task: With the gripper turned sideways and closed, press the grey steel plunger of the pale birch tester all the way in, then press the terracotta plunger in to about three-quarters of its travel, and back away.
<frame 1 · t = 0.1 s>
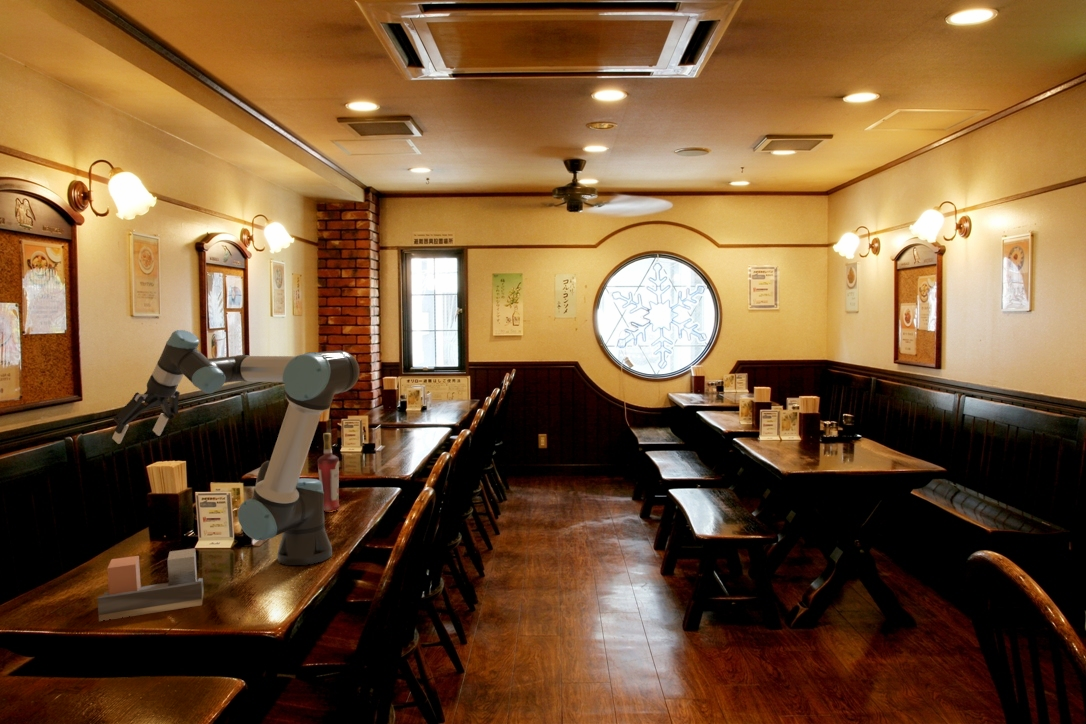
hand: (136, 436, 217), 36 cm above the table, tool tilted 35°, fingers open, 13 cm apart
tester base: (153, 605, 182), on the table
liquor: (330, 511, 265), on the table
terracotta plunger: (124, 579, 183), point 6 cm above the table, slide at 0.0 cm
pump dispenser: (270, 500, 281), on the table
grey plunger: (182, 571, 188), point 6 cm above the table, slide at 0.0 cm
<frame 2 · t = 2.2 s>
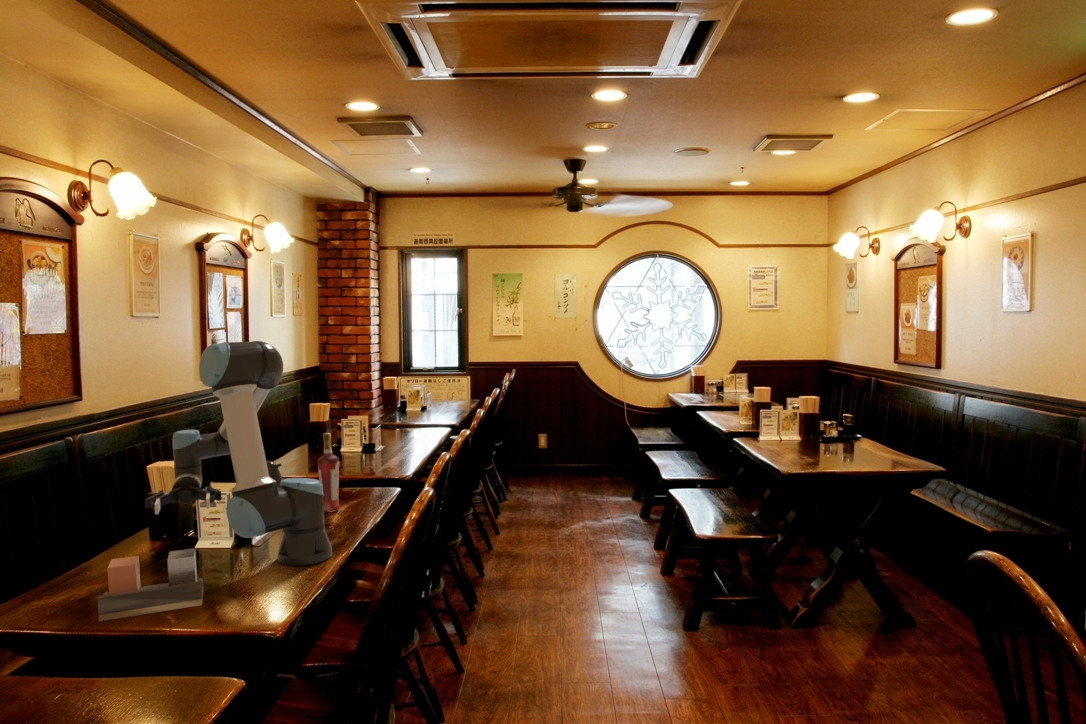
hand: (182, 506, 198), 20 cm above the table, tool horizontal, fingers open, 12 cm apart
nothing on the table moved.
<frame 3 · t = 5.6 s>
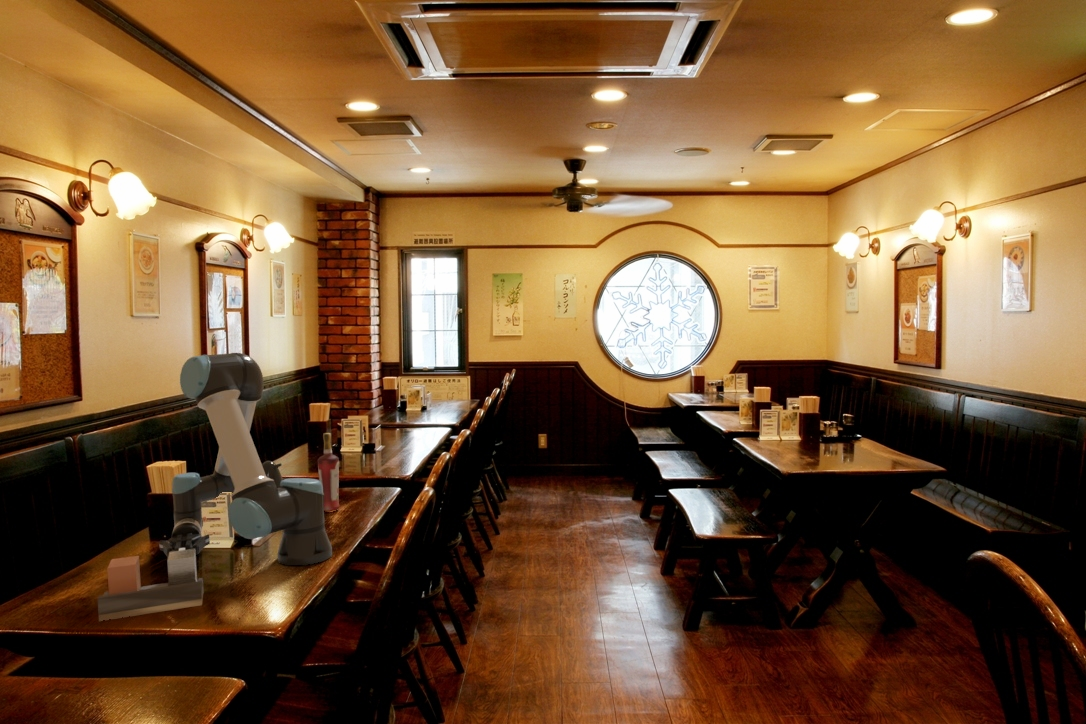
hand: (180, 560, 191), 8 cm above the table, tool horizontal, fingers closed
grey plunger: (182, 571, 188), point 6 cm above the table, slide at 0.3 cm, touching gripper
everything else where it was.
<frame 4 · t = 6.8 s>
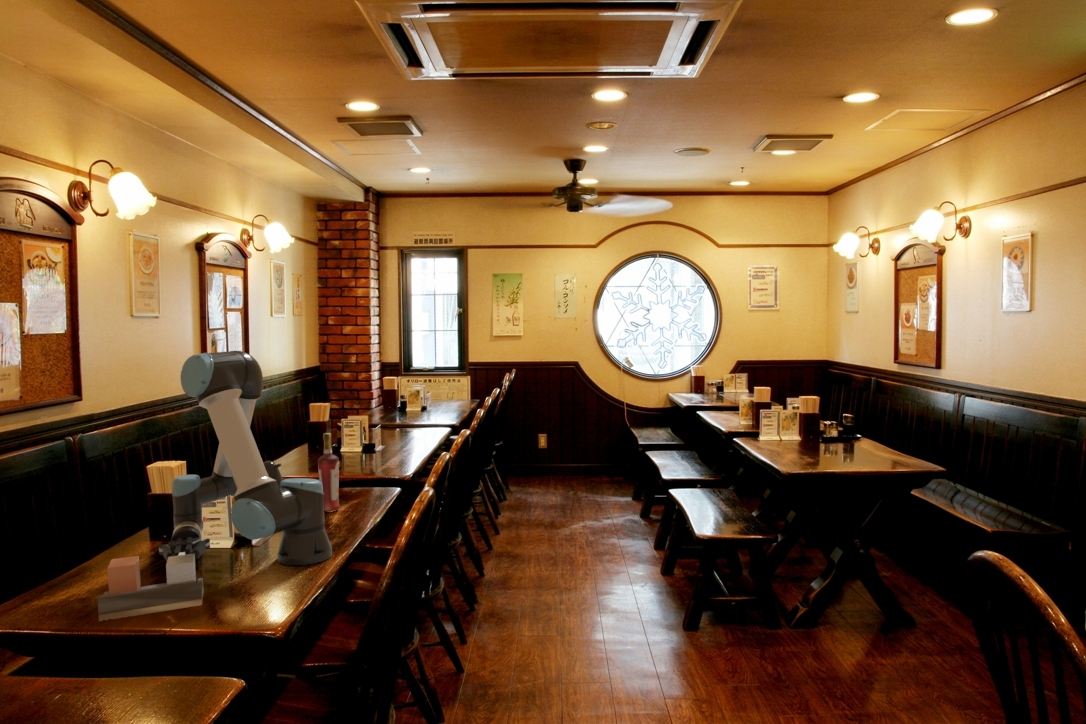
hand: (180, 565, 187), 8 cm above the table, tool horizontal, fingers closed
grey plunger: (181, 577, 184), point 6 cm above the table, slide at 4.5 cm, touching gripper, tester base
everything else where it was.
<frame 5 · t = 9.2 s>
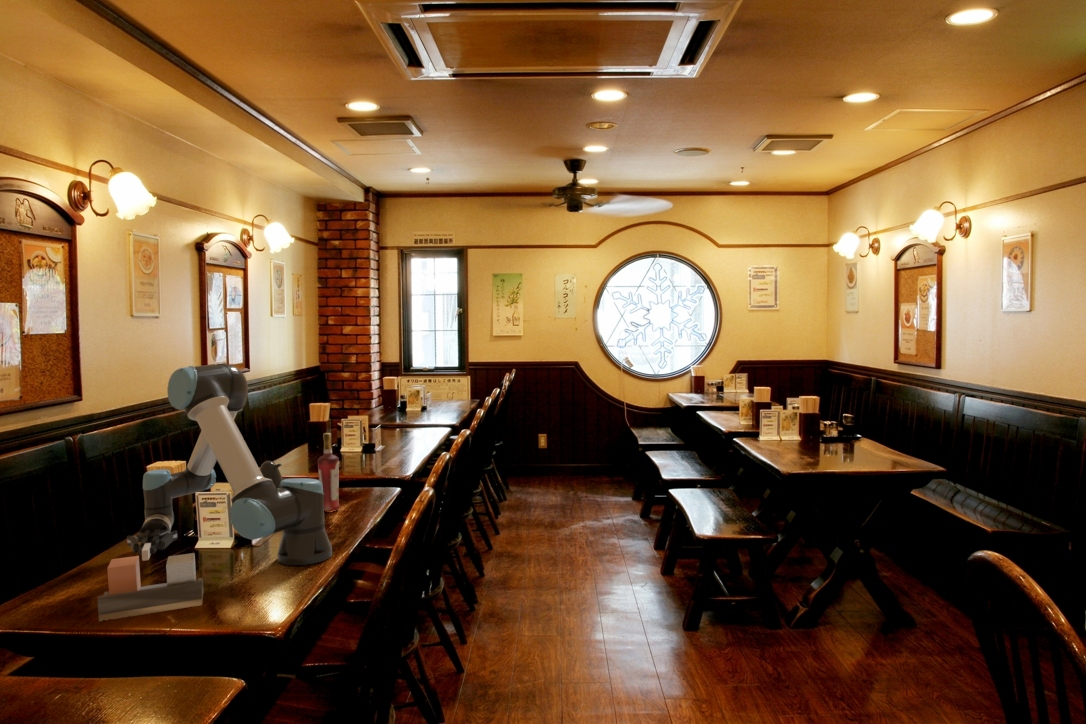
hand: (145, 555, 195), 8 cm above the table, tool horizontal, fingers closed
grey plunger: (181, 576, 184), point 6 cm above the table, slide at 4.1 cm
everything else where it was.
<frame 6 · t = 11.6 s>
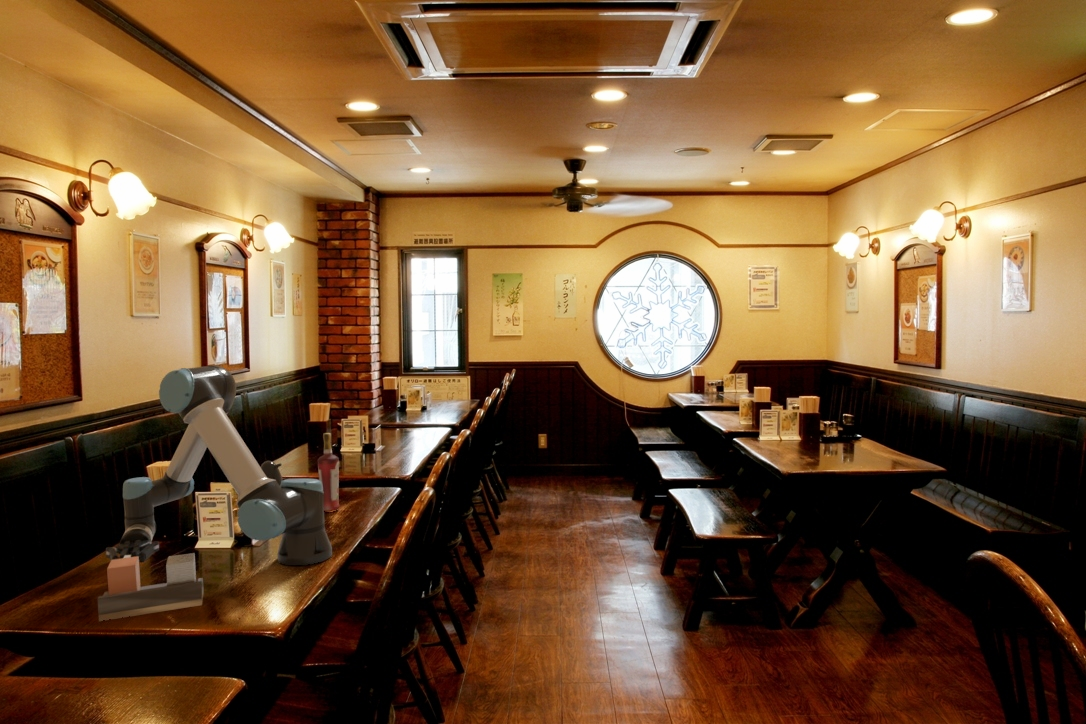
hand: (124, 568, 186), 8 cm above the table, tool horizontal, fingers closed
terracotta plunger: (124, 580, 183), point 6 cm above the table, slide at 0.5 cm, touching gripper
everything else where it was.
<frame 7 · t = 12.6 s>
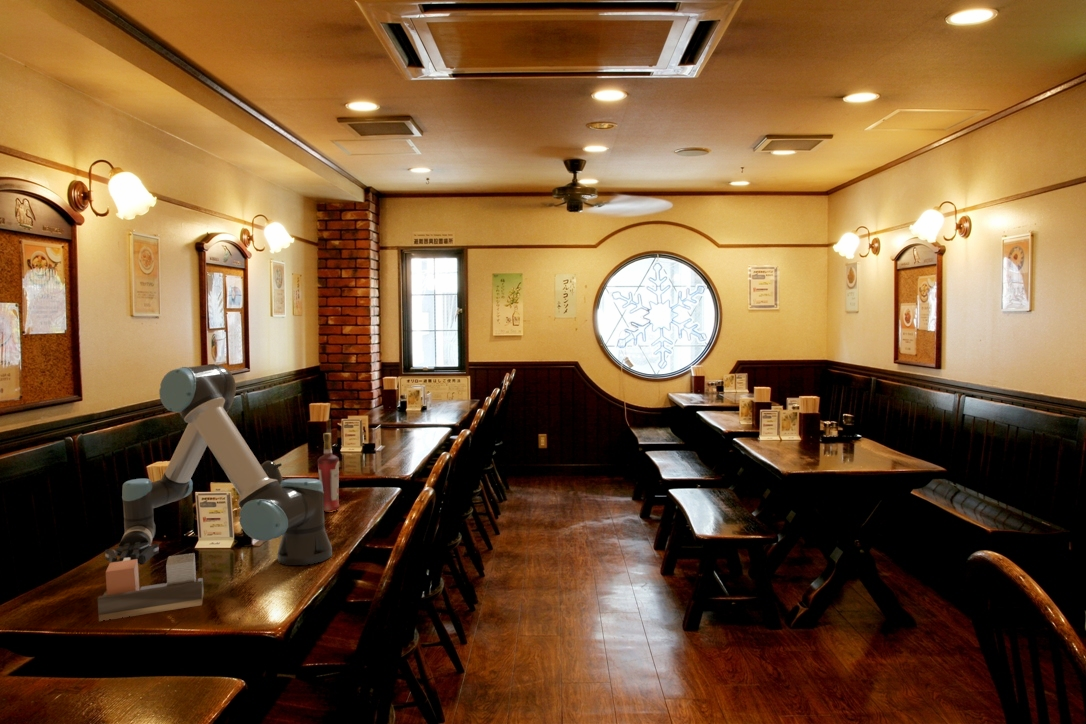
hand: (124, 570, 184), 8 cm above the table, tool horizontal, fingers closed
terracotta plunger: (123, 583, 181), point 6 cm above the table, slide at 2.8 cm, touching gripper
everything else where it was.
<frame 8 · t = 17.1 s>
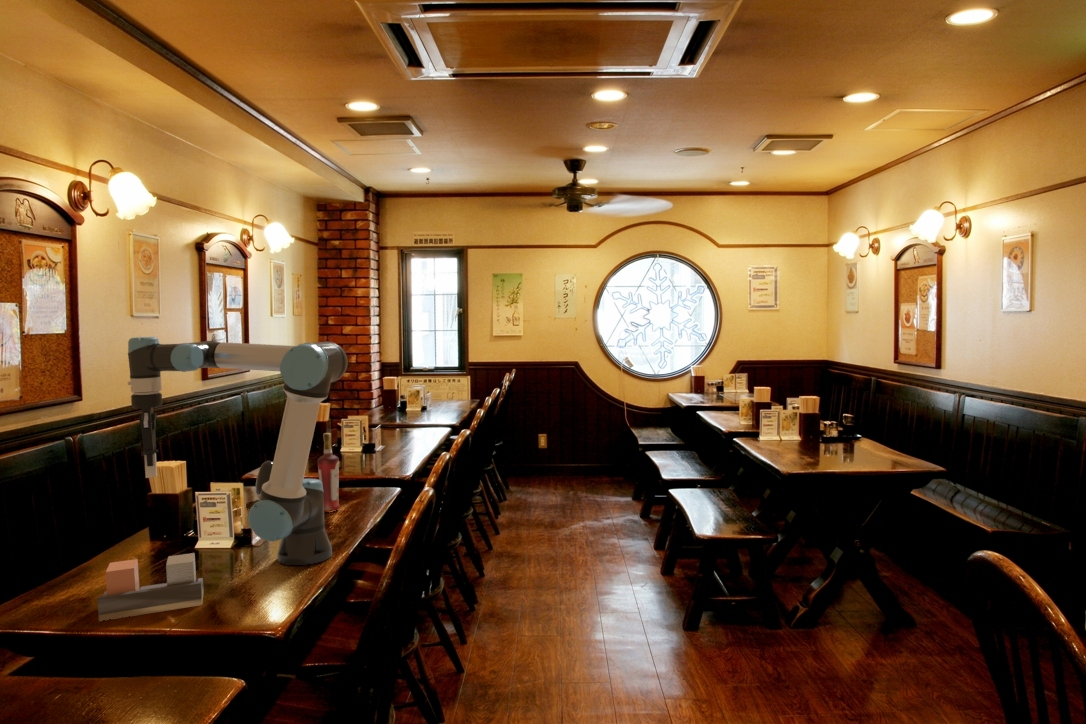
hand: (151, 476, 206), 26 cm above the table, tool pointing down, fingers closed
terracotta plunger: (123, 583, 181), point 6 cm above the table, slide at 2.8 cm
everything else where it was.
at the end: grey plunger slide at 4.1 cm; terracotta plunger slide at 2.8 cm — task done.
